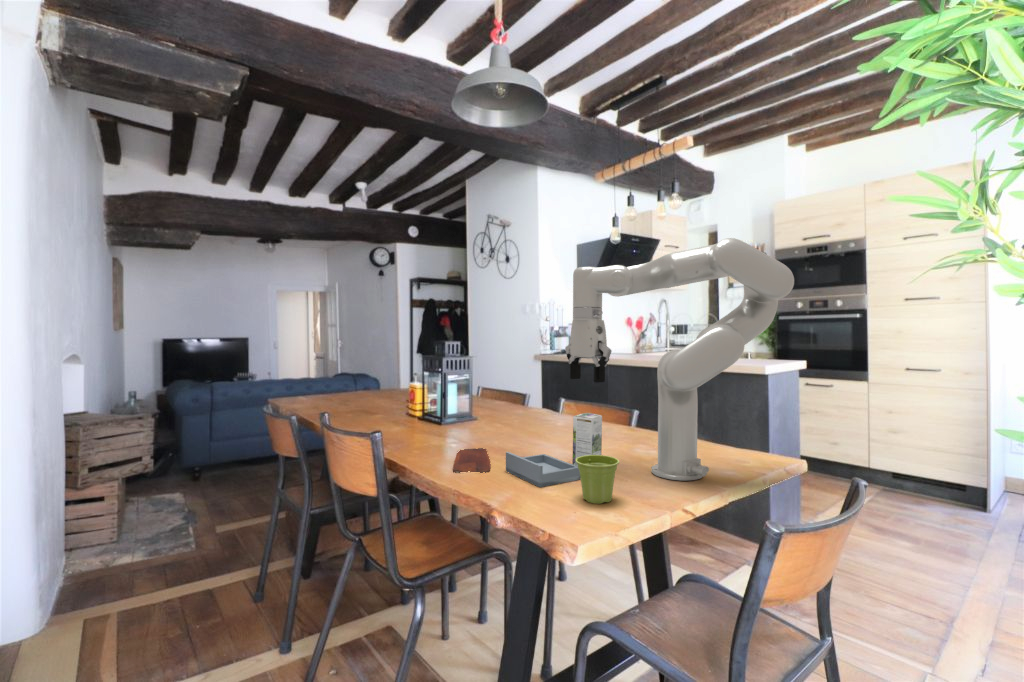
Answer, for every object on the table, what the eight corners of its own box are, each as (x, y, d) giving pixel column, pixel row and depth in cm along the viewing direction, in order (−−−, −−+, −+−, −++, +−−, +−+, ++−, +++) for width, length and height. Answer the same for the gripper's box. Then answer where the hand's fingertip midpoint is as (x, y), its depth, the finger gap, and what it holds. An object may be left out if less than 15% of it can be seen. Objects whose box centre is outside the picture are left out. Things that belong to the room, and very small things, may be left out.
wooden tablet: (491, 475, 131) (491, 468, 131) (452, 475, 131) (452, 469, 131) (489, 450, 158) (489, 444, 158) (457, 450, 157) (457, 445, 157)
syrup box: (582, 465, 138) (582, 412, 137) (602, 469, 134) (602, 414, 134) (571, 470, 133) (572, 415, 133) (592, 474, 130) (592, 417, 129)
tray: (580, 479, 125) (580, 459, 125) (539, 487, 119) (539, 466, 119) (544, 464, 139) (544, 446, 138) (505, 471, 132) (505, 452, 132)
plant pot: (570, 504, 108) (570, 463, 108) (580, 490, 117) (580, 453, 117) (615, 509, 105) (615, 467, 105) (621, 495, 114) (622, 456, 113)
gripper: (621, 314, 127) (620, 382, 128) (577, 315, 142) (577, 376, 143) (598, 314, 123) (597, 384, 124) (556, 315, 138) (555, 378, 139)
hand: (586, 380), depth 133 cm, fingers open, 9 cm apart
